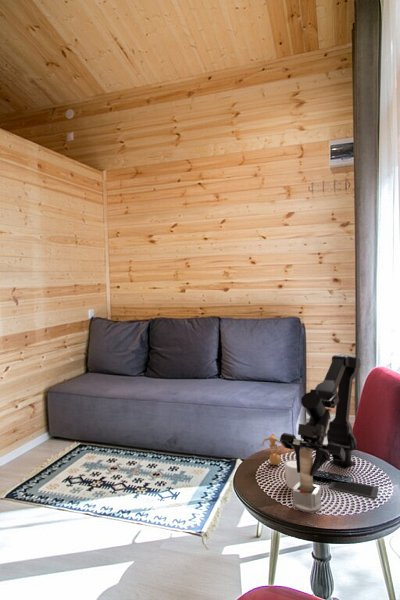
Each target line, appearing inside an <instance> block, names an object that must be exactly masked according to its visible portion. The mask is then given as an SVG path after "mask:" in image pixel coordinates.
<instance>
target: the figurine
mask: <svg viewBox="0 0 400 600" xmlns="http://www.w3.org/2000/svg"><path fill="white" fill-rule="evenodd" d="M265 441H269V447H270V448H271V449H270V452H271V454H270V456H269V458H268V459H269V463H271V465H273V466H278V465H280V463H281V459H282V458H281V456H280V455H279V454H278V453H277V452H278V445H277V443H276V442H278V443H280V444H281V445H282V446H283V444H282V443H281V441H280V439H278V438H277V437H276V436H275V434H274V433H271V435H270V436H269V437H267V438H264V439H263V441H262V444H261V445H262V446H263V445H264V444H265ZM273 448H274V449H275V450H274V449H273ZM283 448H284V449H286V448H285V447H284V446H283ZM273 451H275V452H273Z"/></svg>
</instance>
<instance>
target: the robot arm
mask: <svg viewBox="0 0 400 600" xmlns="http://www.w3.org/2000/svg"><path fill="white" fill-rule="evenodd" d="M361 364H362V363H361V359H360V358H358V356H357V355H351V354H335V355H332V357H331V363H330V365H329V367H328V370H327V373H326V375H325V376H324V380H322V382H320V383H318V384H317V385H316V387H315V388H314V389H310V390H309V392H306V393H305V394H304V395H303V396H302V397H301V400H300V402H301V405H302V407H303V409H304V410H305V412H306V414H307V415H308V416H309V418H308V422H306V423H305V424H302V423H299V424H298V430H297V435H298V436H300V439H302V440H300V439H299V438H297V437H296V436H295V434H292V433H287V432H283V433H282V434H281V435H280V438H279V441H281V443H282V444H283V445H282V444H281V443H280V444H281V445H282V447H283V448H284V447H285V448H284V449H288V450H291V451H294V452H295V453H294V454H295V460H296V463H297V472H298V473H300V449H302V448H307V449H311V450H312V451H315V456H314V459H313V461H312V464H313V465H312V468H311V472H310V476H313V477H314V475H315V474H316V473H317V472H318V471H319V469H320V468H321V467H322V466H323V465H324V464H325V463H326V462H329V463H330V464H332V465H335V466H337V467H339V468H342V469H345V470H346V469H348V468H350V467H352V466H354V465H356V461H353V460H352V459H353V458H352V452H353V451H356V450H357V439H356V437H355V435H354V434H353V433H354V432H353V426H352V424H351V423H350V410H351V402H352V401H351V399H352V390H353V381H354V379H355V378H356V377H357V376H358V374H359V369H361V368H360V367H361ZM335 407H336V408H335ZM328 408H329V409H334V408H335V417H334V419H332V420H331V418H332V417H331V412H330V411H329V409H328ZM330 420H331V421H330ZM325 438H326V439H327V440H326V441H327V443H326V445H324V441H325ZM331 457H332V460H331Z"/></svg>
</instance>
